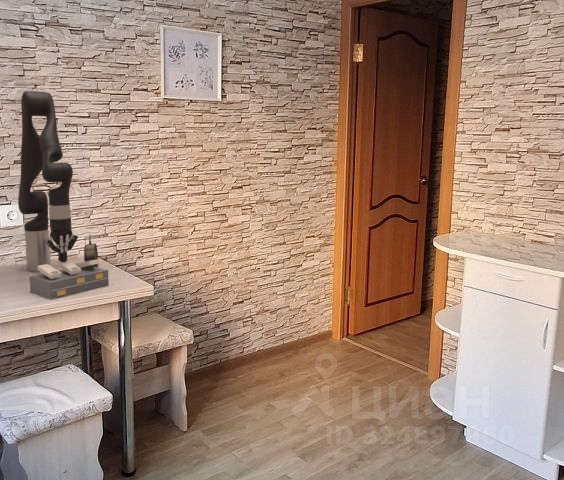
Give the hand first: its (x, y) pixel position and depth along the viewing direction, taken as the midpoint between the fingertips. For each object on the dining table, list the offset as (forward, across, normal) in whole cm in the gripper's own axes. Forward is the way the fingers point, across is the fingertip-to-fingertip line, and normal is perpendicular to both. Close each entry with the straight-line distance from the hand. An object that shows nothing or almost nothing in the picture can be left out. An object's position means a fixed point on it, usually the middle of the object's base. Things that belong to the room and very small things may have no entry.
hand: (63, 261), depth 220 cm
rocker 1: (+1, +8, +4) cm, 9 cm away
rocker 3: (+1, -8, +4) cm, 9 cm away
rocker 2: (+1, 0, +4) cm, 4 cm away
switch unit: (+10, 0, +4) cm, 10 cm away
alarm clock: (+10, -20, -12) cm, 25 cm away
